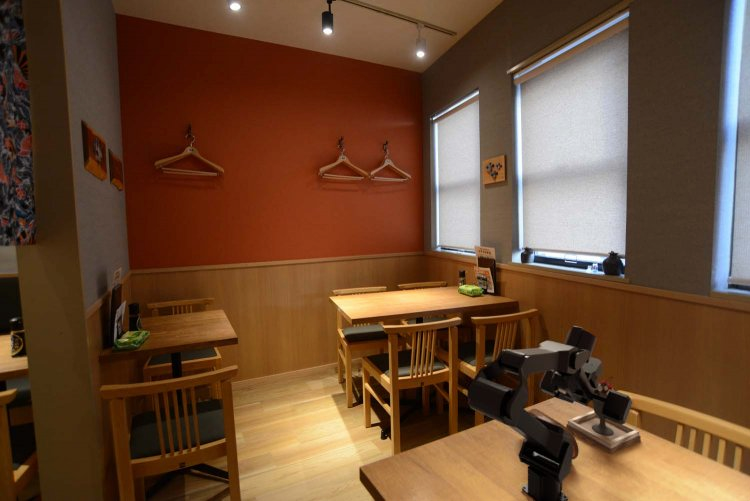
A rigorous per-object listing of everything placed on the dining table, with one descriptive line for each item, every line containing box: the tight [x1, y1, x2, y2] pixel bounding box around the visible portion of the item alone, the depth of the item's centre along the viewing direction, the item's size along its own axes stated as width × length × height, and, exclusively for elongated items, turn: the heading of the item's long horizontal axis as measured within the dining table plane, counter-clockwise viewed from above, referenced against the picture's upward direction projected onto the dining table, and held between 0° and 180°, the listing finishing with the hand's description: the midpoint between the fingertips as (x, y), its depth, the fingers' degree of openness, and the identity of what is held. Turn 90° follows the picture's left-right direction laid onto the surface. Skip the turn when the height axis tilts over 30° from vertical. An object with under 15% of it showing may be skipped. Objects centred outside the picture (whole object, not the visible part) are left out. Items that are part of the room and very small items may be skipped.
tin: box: [526, 408, 580, 461], centre depth 87 cm, size 15×3×8 cm, turn 22°
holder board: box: [565, 410, 642, 455], centre depth 93 cm, size 12×12×2 cm
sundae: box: [591, 376, 614, 436], centre depth 92 cm, size 7×7×15 cm
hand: (592, 409), depth 87 cm, fingers open, 9 cm apart
